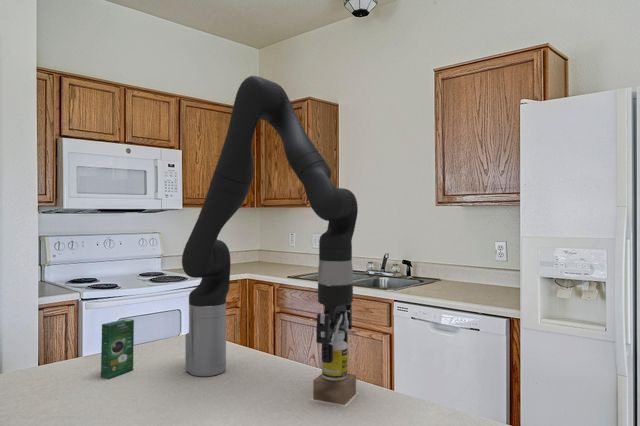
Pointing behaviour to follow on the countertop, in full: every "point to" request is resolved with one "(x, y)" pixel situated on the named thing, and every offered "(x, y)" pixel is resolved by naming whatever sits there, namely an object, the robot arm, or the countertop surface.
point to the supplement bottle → (337, 360)
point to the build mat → (337, 403)
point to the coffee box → (117, 348)
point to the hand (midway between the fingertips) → (335, 356)
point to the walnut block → (334, 389)
